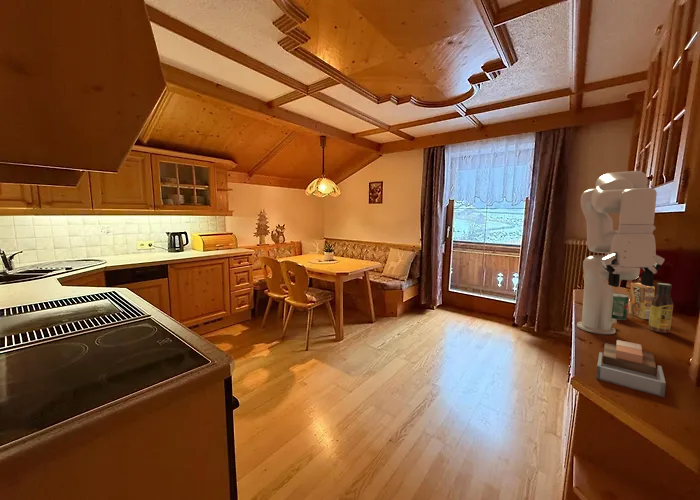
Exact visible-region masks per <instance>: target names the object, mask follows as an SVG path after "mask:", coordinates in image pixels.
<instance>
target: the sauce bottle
mask: <svg viewBox="0 0 700 500" xmlns="http://www.w3.org/2000/svg"><path fill="white" fill-rule="evenodd" d="M656 287H657V290H656V294H654V297H653V299H652V304H651V309H650V317H649V319H648V329H649V330H650V331H652V332H656V333H663V334H667V333H669V332H670V331H671V326H672V320H673V319H672V317H673V311H674V303H673V299H672V297H671V290H672V288H673V287H672V284H670V283H665V282H664V283H661V282H657V285H656Z"/></svg>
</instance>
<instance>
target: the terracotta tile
mask: <svg viewBox="0 0 700 500" xmlns="http://www.w3.org/2000/svg"><path fill="white" fill-rule="evenodd" d="M642 351H643V350H638V349H633V348H628V347H624V346H619V345H617V346H616V358H619V359H624V360H628V361H633V362H637V363H641V364H642V358H643V355H642Z"/></svg>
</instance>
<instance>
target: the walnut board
mask: <svg viewBox="0 0 700 500" xmlns="http://www.w3.org/2000/svg"><path fill="white" fill-rule="evenodd" d="M642 355H643V358H642V364H641V363H637V362H633V361H628V360H624V359H619V358H616V344H612V343H607V342H605V343H604V347H603V355H602V363H604V364H608V365H612V366H616V367H620V368H624V369H628V370H633V371H637V372H641V373H645V374H649V375H653V376H656V375H657V366H656V360H655V357H654V353H653V352H651V351H646V350H642Z"/></svg>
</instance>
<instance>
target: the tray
mask: <svg viewBox="0 0 700 500" xmlns="http://www.w3.org/2000/svg"><path fill="white" fill-rule="evenodd" d="M603 354H604V352H601V351H599V353H598V358H597V359H598V360H597V364H596V376H595V377H596V380H598V381H603V382H607V383H611V384H614V385H618V386H621V387H625V388H629V389H631V390H636V391H639V392H643V393H647V394H651V395H654V396H658V397H661V398H665V393H666V387H667V386H666V383H667V382H666V379H665V375H664V371H663V366H662V365H657V366H656V375H655V376H653V375H649V374H645V373H641V372H637V371H633V370H628V369H624V368H620V367H616V366H612V365H608V364H604V363H603Z"/></svg>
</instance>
